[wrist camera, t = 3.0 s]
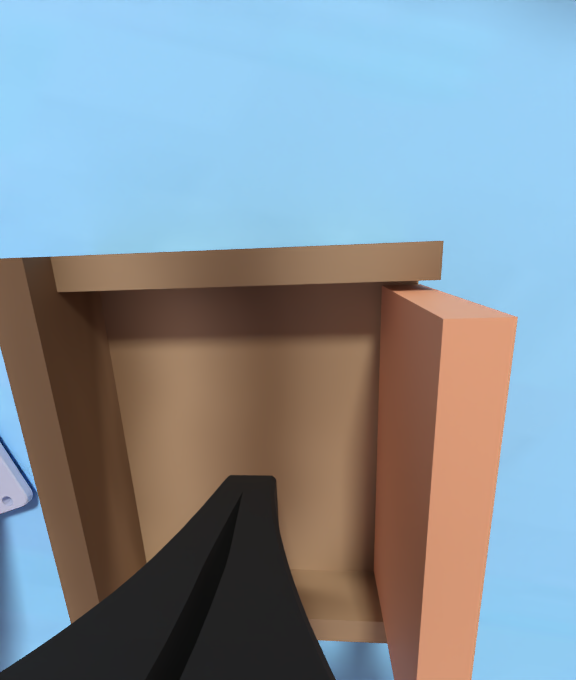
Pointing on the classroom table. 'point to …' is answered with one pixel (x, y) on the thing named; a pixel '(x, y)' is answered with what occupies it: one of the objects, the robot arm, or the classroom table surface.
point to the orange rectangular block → (437, 472)
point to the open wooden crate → (207, 405)
